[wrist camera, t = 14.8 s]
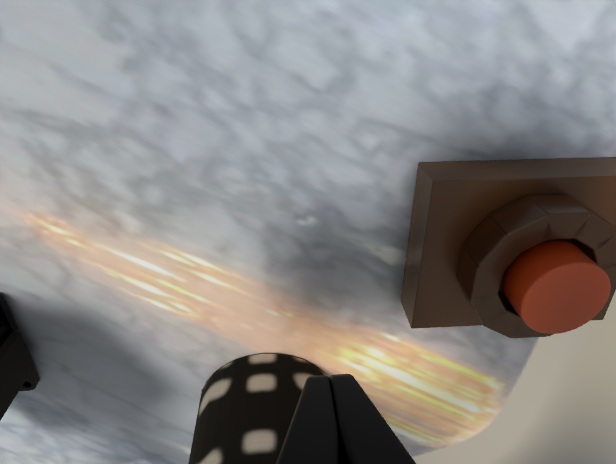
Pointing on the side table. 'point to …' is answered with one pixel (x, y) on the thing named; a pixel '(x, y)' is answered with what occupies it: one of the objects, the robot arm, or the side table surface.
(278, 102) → the side table surface
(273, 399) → the spotted black cylinder
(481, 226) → the button block
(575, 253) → the button
